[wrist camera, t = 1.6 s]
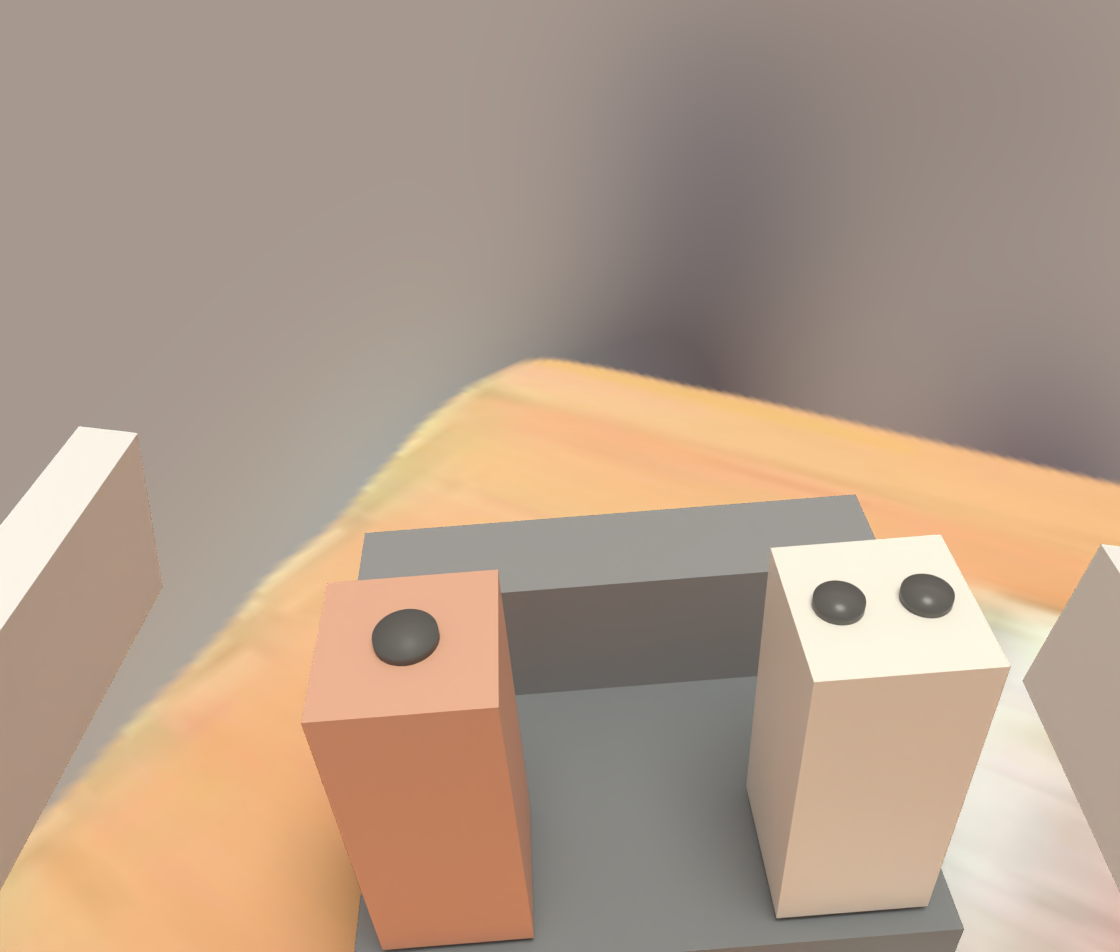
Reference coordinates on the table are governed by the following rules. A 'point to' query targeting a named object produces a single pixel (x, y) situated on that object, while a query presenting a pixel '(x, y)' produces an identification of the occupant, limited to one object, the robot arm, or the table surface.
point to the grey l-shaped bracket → (647, 725)
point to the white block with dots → (866, 721)
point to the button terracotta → (424, 756)
